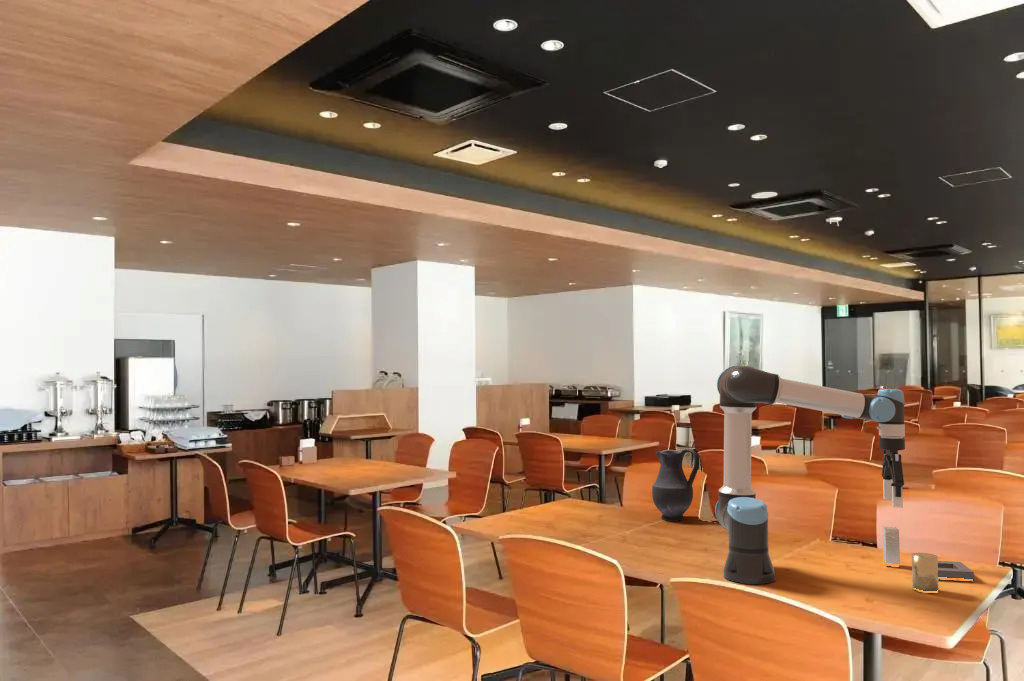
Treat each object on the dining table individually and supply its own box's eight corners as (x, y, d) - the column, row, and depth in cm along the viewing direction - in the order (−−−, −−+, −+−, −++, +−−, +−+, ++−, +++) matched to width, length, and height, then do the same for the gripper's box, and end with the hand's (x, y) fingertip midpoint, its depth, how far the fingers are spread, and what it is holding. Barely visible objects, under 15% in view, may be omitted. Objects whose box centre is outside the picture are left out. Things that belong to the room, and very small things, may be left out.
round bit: (941, 594, 210) (940, 558, 211) (916, 593, 212) (915, 557, 212) (934, 588, 217) (933, 553, 217) (910, 586, 218) (909, 552, 219)
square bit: (900, 567, 239) (899, 529, 239) (886, 567, 240) (885, 529, 240) (897, 564, 243) (896, 527, 243) (883, 563, 244) (882, 526, 244)
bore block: (974, 582, 222) (973, 572, 222) (929, 579, 225) (928, 569, 225) (960, 571, 234) (960, 561, 234) (918, 569, 237) (918, 559, 237)
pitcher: (664, 513, 331) (663, 445, 332) (708, 519, 318) (707, 447, 319) (645, 519, 318) (643, 448, 319) (690, 525, 305) (688, 451, 306)
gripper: (871, 433, 255) (872, 496, 254) (887, 440, 231) (888, 509, 230) (895, 434, 253) (897, 497, 252) (914, 441, 229) (915, 511, 228)
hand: (892, 503), depth 241 cm, fingers open, 13 cm apart
